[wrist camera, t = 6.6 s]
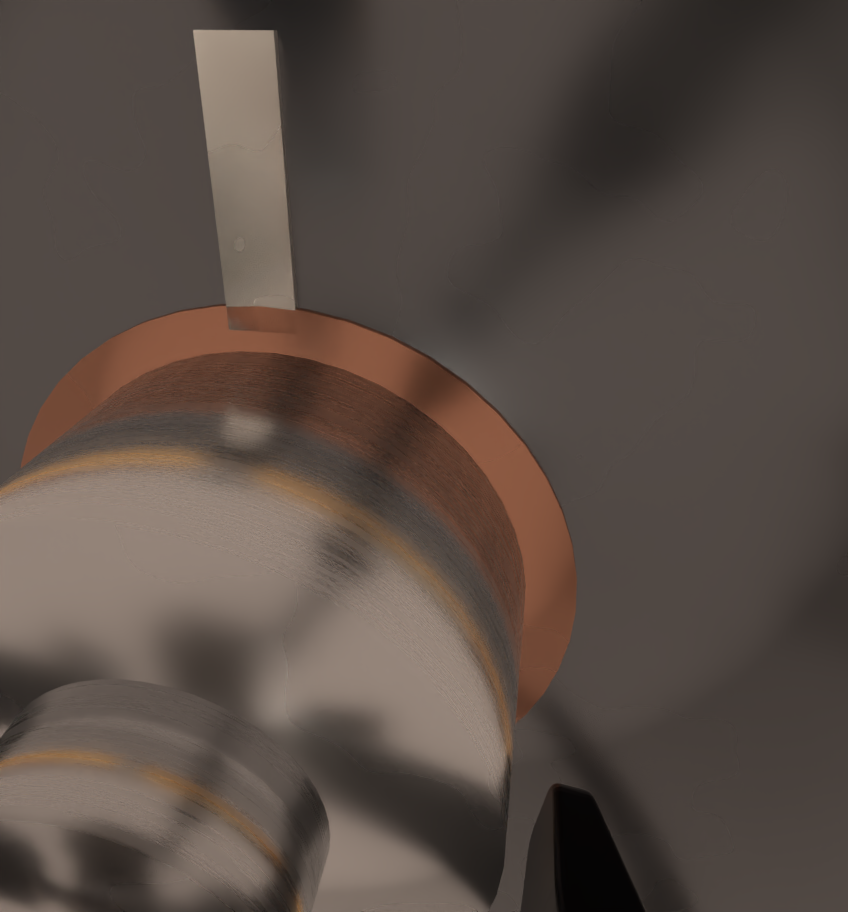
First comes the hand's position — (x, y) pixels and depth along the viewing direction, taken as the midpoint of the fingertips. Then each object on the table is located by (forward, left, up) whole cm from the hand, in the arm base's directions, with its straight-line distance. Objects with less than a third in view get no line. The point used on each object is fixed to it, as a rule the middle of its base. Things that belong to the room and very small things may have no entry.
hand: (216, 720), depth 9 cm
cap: (0, 0, -2) cm, 3 cm away
